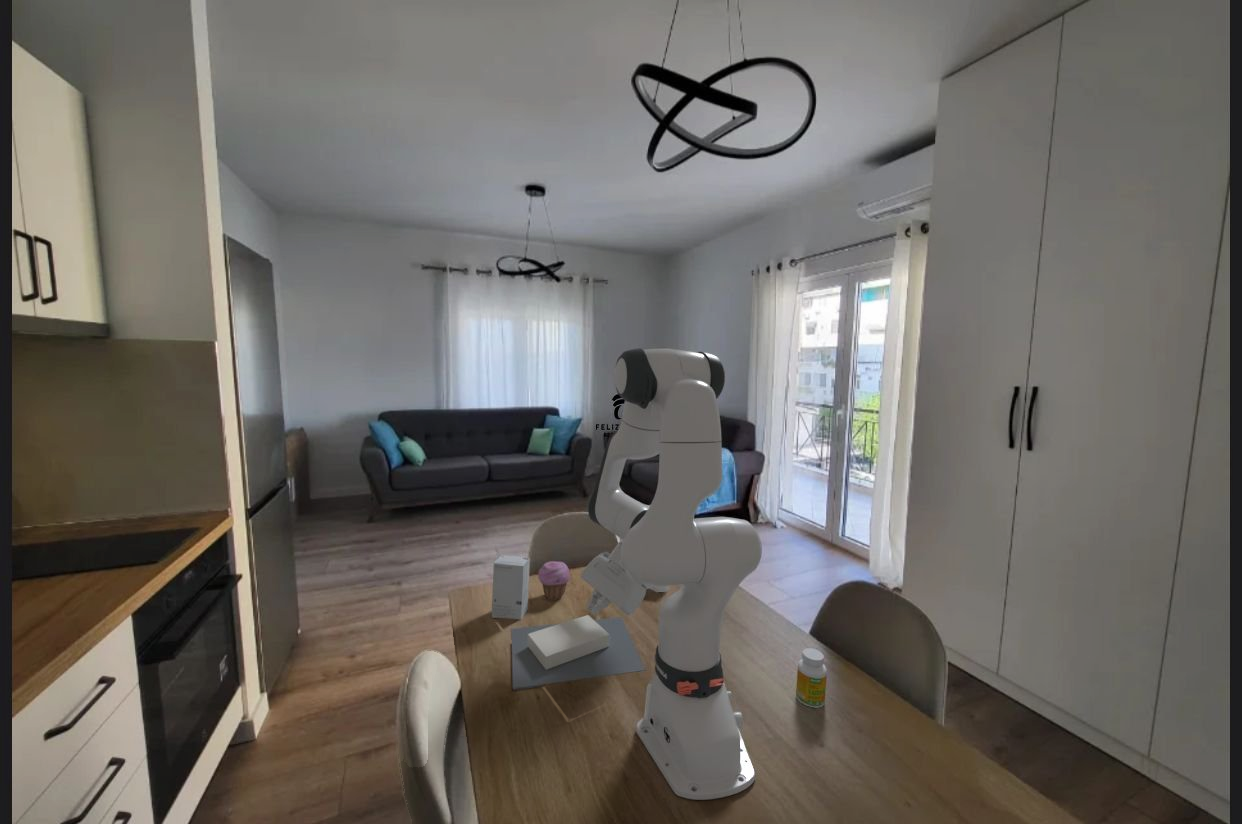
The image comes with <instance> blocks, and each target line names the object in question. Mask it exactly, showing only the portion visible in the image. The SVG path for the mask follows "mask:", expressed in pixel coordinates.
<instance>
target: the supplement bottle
mask: <svg viewBox="0 0 1242 824" xmlns="http://www.w3.org/2000/svg"><path fill="white" fill-rule="evenodd" d="M824 663H825V655H824V654H823V653H822V652H821V651H820V650H818V649H816V648H810V647H809V648H804V649H803V650H802V653H801V659H800V660H799V661H798V663H797V670H796V671H797V672H796V673H797V674H796V675H797V676H796V677H797V678H796V689H795V697H796V699H797V700H798V702H799V703H801V704H802V703H803V704H804V706H805V705H806V706H805V707H807V706H810V707H814V708H813V709H820V708H822V707H823V706H824V705H825V701H826V692H827V691H826V688H827V677H828V676H827V674H828V670H827V667H826V665H825V664H824ZM803 704H802V705H803ZM810 707H809V708H810ZM819 707H820V708H819Z"/></svg>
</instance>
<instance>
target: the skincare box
mask: <svg viewBox="0 0 1242 824" xmlns="http://www.w3.org/2000/svg"><path fill="white" fill-rule="evenodd" d="M530 562H531V559H530V557H524V556H519V555H517V556H516V555H506V554H505V555H503V554H500V556H499V557H498V558H497V559H496V560H495V561H494V562H493V570H492V571H493V572H492V573H493V574H492V575H493V576H492V598H491V603H492V604H491V618H492V619H512V620H520V621H521V620H522V619H523V618H524V616H525V615H526V612H528V609H529V608H528V607H529V587H530V586H529V585H530V565H531V563H530Z"/></svg>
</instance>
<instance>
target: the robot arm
mask: <svg viewBox="0 0 1242 824" xmlns="http://www.w3.org/2000/svg"><path fill="white" fill-rule="evenodd" d="M614 367H615V368H614V375H613V378H614V380H613V381H614V386H615V390H616V392H617V394H618V396H619V397H620V398H621V399H622V400H624V403H623V409H622V416H621V422H620V426H619V428H618V429H617V430H615V431H614V432H613V433H612V434H611V435H610V436H609V438H608V441H607V443H606V446H605V449H604V452H603V456H602V459H601V463H600V467H599V471H598V474H597V478H596V482H595V486H594V487H593V490H592V492H591V495H590V497H589V499H588V502H587V513H588V517H589V519H590V520H591V521H592V522H593V523H594V524H597V525H599V526H601V527H603V528H605V529H607V530H608V531H609V532H611V533H612V534H614V535H615V536H616V537H618V538H620V539H621V540H619V541H618V544H616V546H615V547H614V549H613V550H611V551H612V552H608V551H603V552H600V553H599V554H598V555H596V556H595V557H594V558H593V559H592V560H590V561H589V563H588V564H587V565H586V566H585V567H584V569H583V570H582V571H581V574H580V578H581V580H583V582H585V583H586V584H588V585H589V586H590V587H592V588H593V591H592V592H591V595H590V599H589V601H588V603H587V604H586V606H585V608H586V609H587V611H588V612H590V613H591V614H592V615H593V616H595V617H596V616H598V614H599V613H600V612H601V611H602V610H604V609H606V608H608V606H609V605H610V604H611V603H612V604H613V606H615V607H616V608H617V609H618V610H620V611H621V612H622V613H624V614H625V615H626V616H631V615H633V614H634V613H635V612H636V610H637V609H638V608H639V606H640V605H641V603H642V602H643V600H644V598H645V596H646V594H647V590H649V589H650V587H651V586H669V587H670V586H677V585H682V586H681V587H680V588H679V589H678V590H677V591H676V592H675V593H673V594H672V595H670V596H669V597H668V598H666V599H665V601H664V602H663V604H662V606H661V608H660V611H659V614H658V640H657V641H658V644H657V645H656V648H655V653H654V654H655V655H654V669H655V670H654V674H653V677H652V678H651V680H650V681H649V682H648V684H647V686H646V694H645V703H644V714H643V717H642V718H641V719H640V720H639V721H638V722H637V724H636V728H635V732H636V734H637V735H638V737H639V739H640V740H641V742H642V744H643V745H644V747H645V748H646V750H647V751H648V753H649V754H650V756H651V758H652V760H653V761H654V763H655V764H656V766H657V768H658V769H659V771H660V772H661V774H662V776H663V777H664V778H665V780H666V782H667V783H668V785H669V786H670V788H671V789H672V791H673V792H674V794H675V795H676V796H678V797H681V798H683V799H688V800H694V801H695V800H697V801H698V800H699V801H700V800H702V801H706V800H715V799H716V800H717V799H720V798H725V797H729V796H733V795H735V794H739V793H740V792H742V791H745V790H746V789H748V788H749V787H750V786H751V785H753V783H754V781H756V773H755V769H754V766H753V764H752V761H751V758H750V754H749V752H748V750H747V748H746V744H745V741H744V739H743V736H742V734H741V731H740V729H739V728H743V727H744V718H743V715H742V712H740V711H734V710H733V707H732V704H731V701H730V700H732V699H733V695H732V692H731V690H727V686H726V684H725V681H724V680H725V679H724V677H725V676H724V667H723V664H724V663H723V660H722V655H721V651H720V648H721V647H720V645H721V633H722V626H723V619H724V615H725V611H726V609H727V606H728V604H729V602H730V600H731V598H732V597H733V594H734V593H735V591H736V590H737V589H738V587H739V586H740V584H741V583H743V581H744V580H746V578H747V577H748V576H750V574H752V573H753V572H754V571H756V569H757V568H758V567H759V565H760V561H761V560H762V559H761V558H762V552H763V547H762V541H761V538H760V536H759V534H758V531H757V530H756V529H755V527H754V526H753V525H752V524H751V523H750V522H749V521H748V520H746V519H742V518H741V519H740V518H736V517H735V518H734V517H727V516H716V517H715V516H714V517H712V516H711V517H699V518H697V517H696V518H695V514H696V512H697V510H698V509H699V507H700V505H701V504H702V503H703V502H704V501H705V500H707V499H709V498H710V497H711V496H713V495H714V494H715V493H717V491H718V490H719V489H720V487H721V485H722V482H723V455H722V454H723V453H722V451H723V450H722V449H723V448H722V444H723V443H722V427H721V426H722V425H721V418H720V416H721V415H720V411H719V406H718V401H717V400H718V399H719V397H720V395H721V394H722V392H723V390H724V387H725V383H726V382H725V381H726V373H725V372H726V371H725V369H724V366H723V363H722V361H721V360H720V358H719V357H718V356H716V355H714V354H712V353H710V352H709V353H708V352H704V351H698V352H695V351H690V350H683V349H673V348H666V347H665V348H649V349H643V348H640V347H639V348H633V349H632V348H631V349H629V350H625V351H622V353H621V354H620V356H619V357H618V358H617V360H616V363H615V366H614ZM658 455H659V459H658V461H659V462H658V478H657V479H658V481H657V487H656V490H655V494H654V497H653V498H652V501H651V503H650V504H645V503H642V502H640V501H638V500H636V499H635V498H633V497H631V496H630V495H628V494H626V493H625V492H624V491H623V490H622V489H621V487H620V482H621V478H622V475H623V471H624V468H625V465H626V461H627V460H645V459H650V458H654V457H656V456H658ZM599 600H600V601H599Z"/></svg>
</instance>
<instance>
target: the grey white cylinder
mask: <svg viewBox="0 0 1242 824" xmlns="http://www.w3.org/2000/svg"><path fill="white" fill-rule="evenodd" d="M649 589H650V590H651V591H652V590H653V592H654V591H655V592H654V593H658V592H664V593H667V592H668V591H669V590H670V586H651V587H650V588H649Z"/></svg>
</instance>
